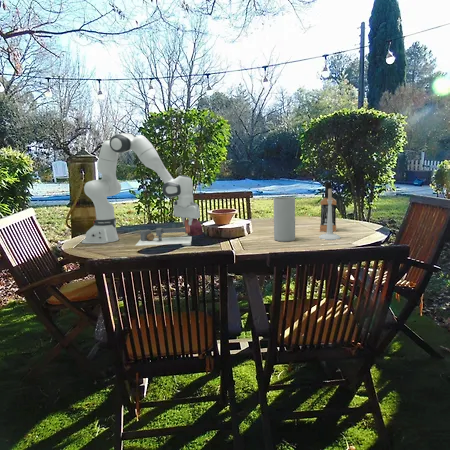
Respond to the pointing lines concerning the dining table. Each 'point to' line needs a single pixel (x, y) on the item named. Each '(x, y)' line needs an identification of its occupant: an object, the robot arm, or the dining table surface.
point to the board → (162, 239)
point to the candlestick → (329, 221)
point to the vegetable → (195, 228)
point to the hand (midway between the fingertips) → (187, 224)
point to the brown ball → (150, 237)
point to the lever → (173, 229)
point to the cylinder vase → (284, 219)
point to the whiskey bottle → (325, 210)
